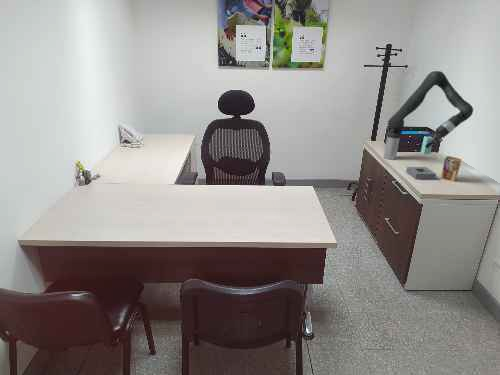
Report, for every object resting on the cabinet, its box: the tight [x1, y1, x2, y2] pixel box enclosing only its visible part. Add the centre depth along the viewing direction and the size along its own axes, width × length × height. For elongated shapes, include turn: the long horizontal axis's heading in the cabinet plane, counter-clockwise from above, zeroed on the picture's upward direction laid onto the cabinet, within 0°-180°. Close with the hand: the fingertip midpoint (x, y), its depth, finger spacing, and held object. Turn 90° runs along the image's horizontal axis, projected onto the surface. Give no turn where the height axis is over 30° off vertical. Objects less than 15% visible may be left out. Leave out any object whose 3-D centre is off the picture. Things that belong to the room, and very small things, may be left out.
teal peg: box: [420, 136, 433, 155], centre depth 245 cm, size 4×4×11 cm
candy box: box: [440, 155, 462, 182], centre depth 246 cm, size 9×4×15 cm, turn 39°
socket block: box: [405, 166, 437, 180], centre depth 253 cm, size 14×14×4 cm
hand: (424, 146), depth 245 cm, fingers closed on teal peg, 4 cm apart
